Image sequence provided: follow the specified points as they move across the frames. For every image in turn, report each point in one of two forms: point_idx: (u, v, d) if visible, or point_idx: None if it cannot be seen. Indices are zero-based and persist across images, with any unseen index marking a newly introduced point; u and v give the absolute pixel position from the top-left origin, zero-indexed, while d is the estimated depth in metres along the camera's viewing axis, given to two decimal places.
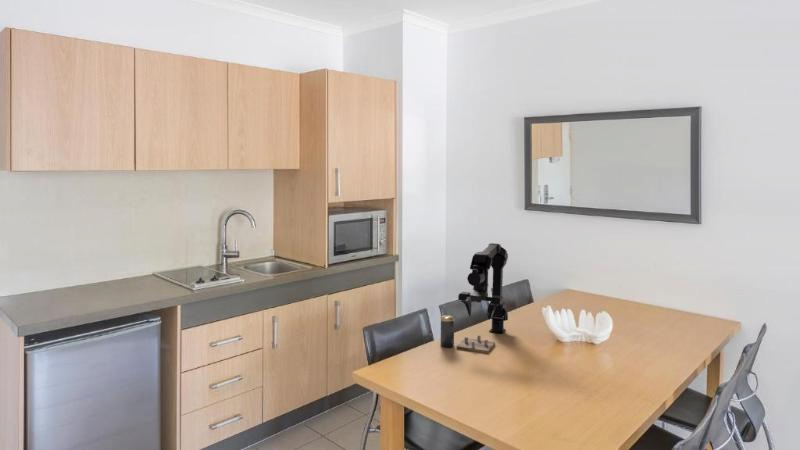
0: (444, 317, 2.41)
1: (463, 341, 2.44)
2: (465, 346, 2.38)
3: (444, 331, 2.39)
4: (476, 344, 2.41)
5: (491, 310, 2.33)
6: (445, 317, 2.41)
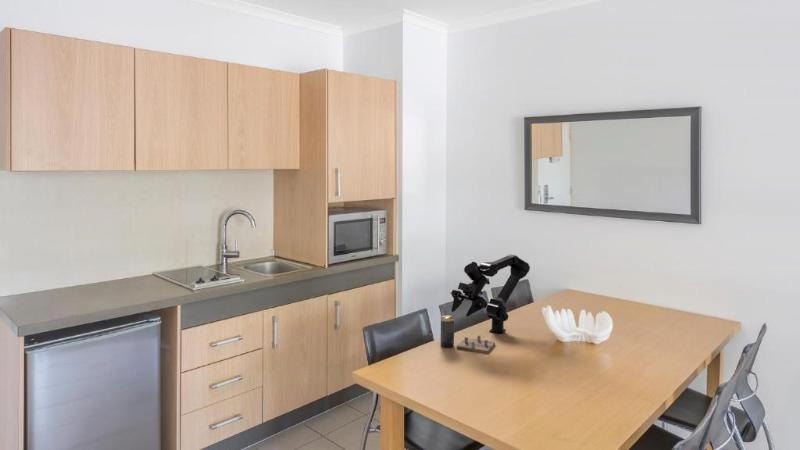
0: (444, 317, 2.41)
1: (463, 341, 2.44)
2: (465, 346, 2.38)
3: (444, 331, 2.39)
4: (476, 344, 2.41)
5: (471, 307, 2.42)
6: (445, 317, 2.41)
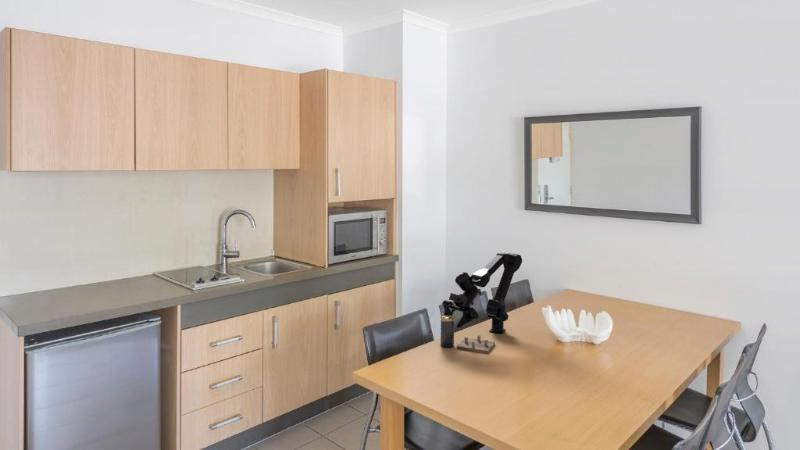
0: (444, 317, 2.41)
1: (463, 341, 2.44)
2: (465, 346, 2.38)
3: (444, 331, 2.39)
4: (476, 344, 2.41)
5: (462, 318, 2.39)
6: (445, 317, 2.41)
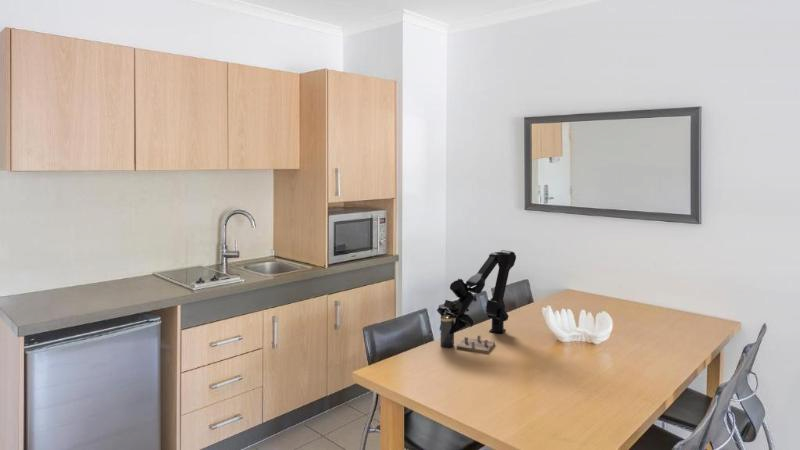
0: (444, 317, 2.41)
1: (463, 341, 2.44)
2: (465, 346, 2.38)
3: (444, 331, 2.39)
4: (476, 344, 2.41)
5: (454, 324, 2.38)
6: (445, 317, 2.41)
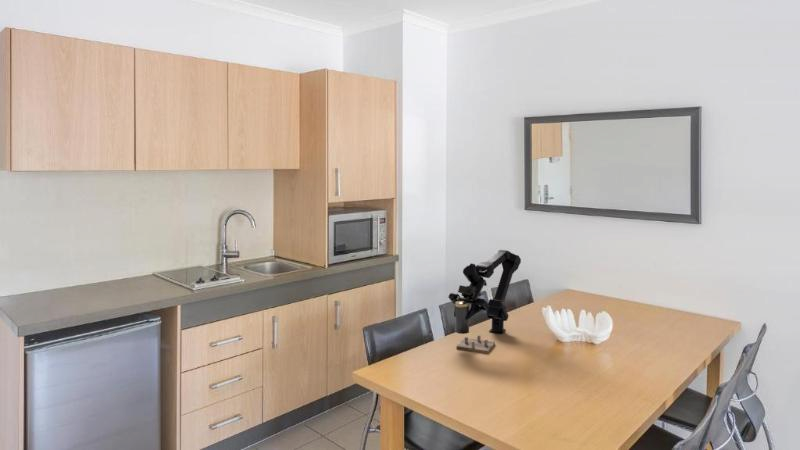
0: (459, 303, 2.38)
1: (463, 341, 2.44)
2: (465, 346, 2.38)
3: (460, 316, 2.37)
4: (476, 344, 2.41)
5: (470, 310, 2.37)
6: (460, 303, 2.38)
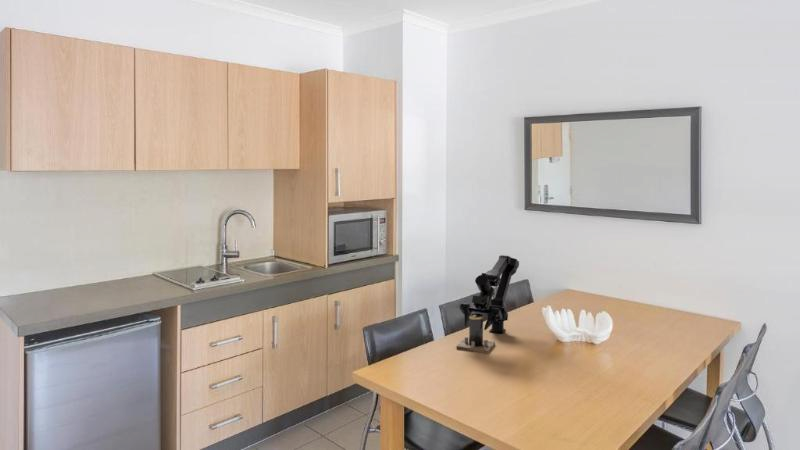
0: (473, 315, 2.39)
1: (463, 341, 2.44)
2: (465, 346, 2.38)
3: (476, 329, 2.37)
4: None
5: (488, 320, 2.37)
6: (474, 315, 2.39)
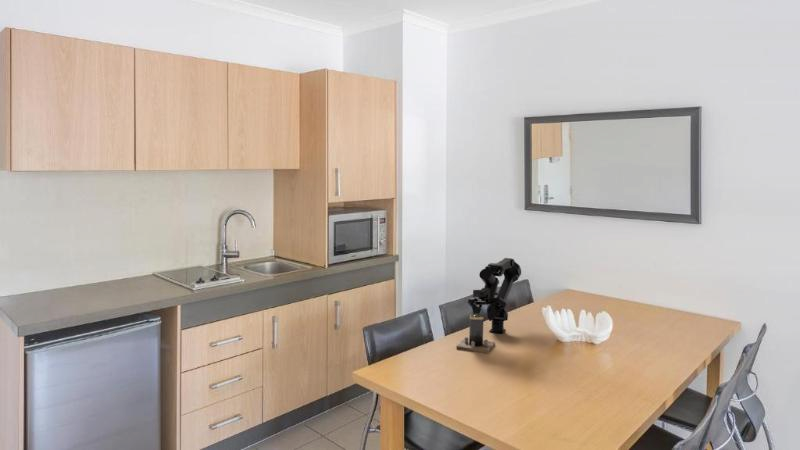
0: (474, 315, 2.39)
1: (463, 341, 2.44)
2: (465, 346, 2.38)
3: (476, 329, 2.37)
4: None
5: (491, 310, 2.42)
6: (475, 315, 2.39)
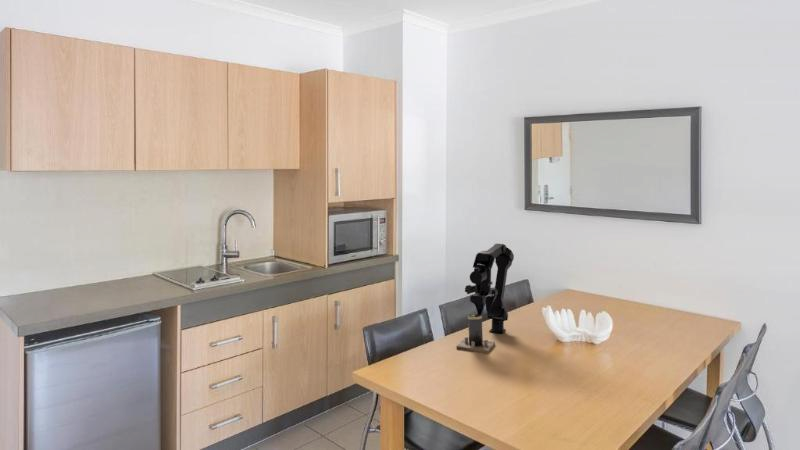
0: (472, 315, 2.39)
1: (463, 341, 2.44)
2: (465, 346, 2.38)
3: (475, 329, 2.37)
4: None
5: None
6: (473, 315, 2.39)
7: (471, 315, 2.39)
